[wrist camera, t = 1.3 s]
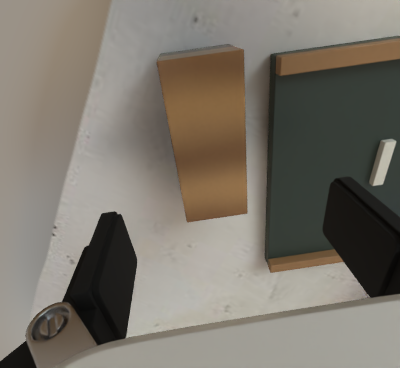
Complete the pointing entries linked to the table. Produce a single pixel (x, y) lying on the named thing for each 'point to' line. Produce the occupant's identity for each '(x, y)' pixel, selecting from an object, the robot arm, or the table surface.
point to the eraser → (207, 128)
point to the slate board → (327, 140)
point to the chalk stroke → (382, 161)
